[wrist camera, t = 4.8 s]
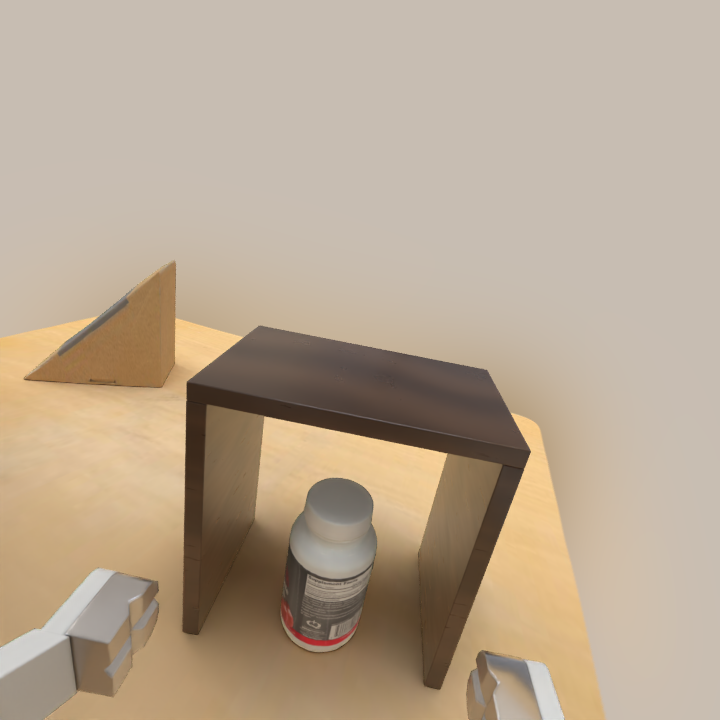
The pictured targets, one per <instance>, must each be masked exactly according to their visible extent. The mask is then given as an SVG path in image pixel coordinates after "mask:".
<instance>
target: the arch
mask: <svg viewBox="0 0 720 720" xmlns="http://www.w3.org/2000/svg"><path fill="white" fill-rule="evenodd" d="M264 416H266V417H271V418H276V419H281V420H286V421H291V422H296V423H301V424H306V425H311V426H316V427H321V428H325V429H330V430H335V431H340V432H345V433H350V434H355V435H360V436H365V437H370V438H375V439H380V440H385V441H389V442H394V443H399V444H404V445H409V446H414V447H419V448H424V449H429V450H434V451H439V452H444V453H448V454H447V458H446V461H445V464H444V468H443V471H442V475H441V478H440V481H439V485H438V488H437V492H436V495H435V498H434V502H433V505H432V509H431V512H430V515H429V519H428V522H427V526H426V529H425V532H424V536H423V539H422V543H421V546H420V549H419V553H418V559H419V581H420V603H421V625H422V647H423V669H424V686H427V687H432V688H436V689H441V686H442V684H443V681H444V678H445V676H446V673H447V670H448V668H449V665H450V663H451V660H452V657H453V655H454V652H455V650H456V647H457V644H458V642H459V639H460V636H461V634H462V631H463V629H464V626H465V623H466V621H467V618H468V615H469V613H470V610H471V608H472V605H473V602H474V600H475V597H476V594H477V592H478V589H479V587H480V584H481V581H482V579H483V576H484V574H485V571H486V568H487V566H488V563H489V560H490V558H491V555H492V553H493V550H494V547H495V545H496V542H497V539H498V537H499V534H500V532H501V529H502V526H503V524H504V521H505V518H506V516H507V513H508V511H509V508H510V505H511V503H512V500H513V497H514V495H515V492H516V490H517V487H518V484H519V482H520V479H521V477H522V474H523V471H524V468H525V466H526V463H527V460H528V458H529V455H530V453H531V451H530V449H529V447H528V445H527V443H526V441H525V439H524V438H523V436H522V434H521V432H520V430H519V428H518V426H517V425H516V423H515V421H514V419H513V417H512V415H511V413H510V412H509V410H508V408H507V406H506V404H505V402H504V401H503V399H502V397H501V395H500V393H499V391H498V389H497V388H496V386H495V384H494V382H493V380H492V378H491V376H490V375H489V373H488V371H487V370H484V369H479V368H474V367H469V366H464V365H459V364H453V363H448V362H443V361H438V360H433V359H428V358H423V357H418V356H412V355H407V354H402V353H397V352H392V351H387V350H382V349H376V348H372V347H367V346H361V345H356V344H351V343H346V342H341V341H335V340H331V339H326V338H320V337H315V336H310V335H305V334H300V333H295V332H289V331H285V330H279V329H274V328H268V327H264V326H258V327H257V328H256V329H254V330H253V331H252V332H250V333H249V334H248V335H246V336H245V337H244V338H243V339H241V340H240V341H239V342H237V343H236V344H235V345H234V346H232V347H231V348H230V349H228V350H227V351H226V352H225V353H223V354H222V355H221V356H219V357H218V358H217V359H216V360H214V361H213V362H212V363H210V364H209V365H208V366H207V367H205V368H204V369H203V370H201V371H200V372H199V373H198V374H196V375H195V376H194V377H192V378H191V379H190V380H189V381H187V401H186V453H185V512H184V571H183V632H186V633H191V634H195V635H198V634H199V632H200V630H201V627H202V625H203V623H204V621H205V619H206V617H207V615H208V613H209V611H210V609H211V607H212V605H213V603H214V601H215V599H216V597H217V595H218V593H219V590H220V588H221V586H222V584H223V582H224V580H225V578H226V576H227V574H228V572H229V570H230V568H231V566H232V564H233V562H234V560H235V558H236V556H237V553H238V551H239V549H240V547H241V545H242V543H243V541H244V539H245V537H246V535H247V533H248V531H249V529H250V527H251V525H252V523H253V521H254V517H255V507H256V496H257V486H258V476H259V465H260V455H261V444H262V434H263V424H264Z"/></svg>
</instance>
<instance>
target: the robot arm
mask: <svg viewBox="0 0 720 720" xmlns="http://www.w3.org/2000/svg"><path fill="white" fill-rule="evenodd" d="M158 591H159V589H158V581H154V580H150V579H146V578H142V577H137V576H133V575H129V574H124V573H120V572H117V571H112V570H107V569H103V568H97V569H95V570H94V571H93V572H91V573H90V574H89V575H88V576H87V577H86V578H85V580H84V581H83V582H82V583H81V584H80V585H79V586H78V587H77V589H76V590H75V591H74V592H73V593H72V594H71V595H70V597H69V598H68V599H67V600H66V601H65V602H64V603H63V605H62V606H61V607H60V608H59V609H58V610H57V611H56V612H55V614H54V615H53V616H52V617H51V618H50V619H49V620H48V622H47V623H46V624H45V625H44V626H43V627H42V628H41V630H40V629H35V628H34V629H32V630H31V631H29V632H27V633H25V634H23V635H22V636H20V637H18V638H16V639H14V640H12V641H11V642H9V643H7V644H5V645H3V646H2V647H0V720H44V719H45V718H46V717H47V716H49V715H50V714H51V713H52V712H54V711H55V710H56V709H57V708H59V707H60V706H61V705H62V704H64V703H65V702H66V701H67V700H69V699H70V698H71V697H72V696H74V695H75V694H76V693H77V690H78V691H83V692H89V693H94V694H99V695H104V696H110V697H114V696H115V694H116V692H117V691H118V689H119V688H120V686H121V684H122V683H123V681H124V679H125V678H126V676H127V674H128V673H129V671H130V669H131V668H132V655H133V654H134V653H136V652H137V651H138V650H140V649H141V648H143V647H144V646H145V644H146V643H147V641H148V639H149V637H150V636H151V634H152V631H153V629H154V627H155V624H156V622H157V618H158V613H159V603H158V602H157V601H156V599H155V598H154V597H155V596H156V594H157V593H158ZM476 663H477V668H476V669H475V670H473V671H471V673H470V676H469V679H468V684H467V694H466V695H467V711H468V719H469V720H565V718H564V715H563V712H562V709H561V706H560V703H559V700H558V697H557V694H556V691H555V688H554V685H553V682H552V679H551V676H550V673H549V670H548V668H547V667H546V665H545V664H544V663H541V662H536V661H530V660H525V659H522V658H520V657H514V656H509V655H504V654H499V653H494V652H489V651H484V650H482V651H480V652H479V653H478V656H477V658H476Z"/></svg>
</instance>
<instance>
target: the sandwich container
mask: <svg viewBox="0 0 720 720" xmlns="http://www.w3.org/2000/svg"><path fill="white" fill-rule="evenodd" d="M175 284H176V263H175V261H171V262H170V263H168V264H166V265H164V266H162V267H161V268H160V269H158V270H157V271H155V272H154V273H153V274H151V275H150V276H149V277H148V278H146V279H145V280H143V281H142V282H141V283H139V284H138V285H137V286H136V287H134V288H133V289H132V290H131V291H130V292H128V293H127V294H126V295H125V296H124V297H123V298H121V299H120V300H119V301H118V302H116V303H115V304H114V305H113V306H111V307H110V308H109V309H108V310H106V311H105V312H104V313H103V314H102V315H100V316H99V317H98V318H97V319H95V320H94V321H93V322H92V323H91V324H89V325H88V326H87V327H85V328H84V329H82V330H81V331H80V332H78V333H77V334H76V335H74V336H73V337H71V338H70V339H69V340H67V341H66V342H65V343H64V344H62V345H61V346H60V347H59V348H58V349H57V350H55V351H54V352H53V353H52V354H51V355H50V356H49V357H47V358H46V359H45V360H44V361H43V362H42V363H40V364H39V365H38V366H37V367H36V368H35V369H33V370H32V371H31V372H30V373H29V374H28V375H27V376H25V377H24V379H29V380H43V381H57V382H71V383H86V384H88V383H89V384H107V385H119V386H143V387H162V385H163V384H164V382H165V380H166V378H167V376H168V375H169V373H170V371H171V369H172V367H173V365H174V363H175V288H176V287H175V286H176V285H175Z"/></svg>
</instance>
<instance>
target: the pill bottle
mask: <svg viewBox="0 0 720 720" xmlns="http://www.w3.org/2000/svg"><path fill="white" fill-rule="evenodd" d="M372 513H373V500H372V497H371V495H370V494H369V492H368V491H367V490H366V489H365V488H364V487H363V486H361V485H360V484H358V483H356V482H354V481H351V480H348V479H343V478H329V479H324V480H321V481H319V482H317V483H316V484H314V485H313V486H312V487H311V489H310V490H309V492H308V495H307V499H306V504H305V508H304V511H303V512H302V513H301V514H300V515H299V516H298V517H297V519H296V520H295V522H294V524H293V526H292V529H291V533H290V538H289V547H288V556H287V563H286V570H285V578H284V585H283V593H282V600H281V611H280V614H281V621H282V625H283V627H284V629H285V631H286V633H287V635H288V636H289V637H290V639H291V640H292V641H293V642H294V643H296V644H297V645H299V646H301V647H302V648H304V649H306V650H308V651H313V652H327V651H332V650H335V649H337V648H339V647H341V646H343V645H344V644H345V643H346V642H348V641H349V639H350V638H351V637H352V636H353V634H354V633H355V631H356V629H357V626H358V623H359V619H360V616H361V612H362V608H363V604H364V600H365V595H366V591H367V587H368V583H369V579H370V575H371V571H372V569H373V563H374V559H375V555H376V549H377V537H376V533H375V530H374V527H373V525H372V524H371V521H372Z"/></svg>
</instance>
